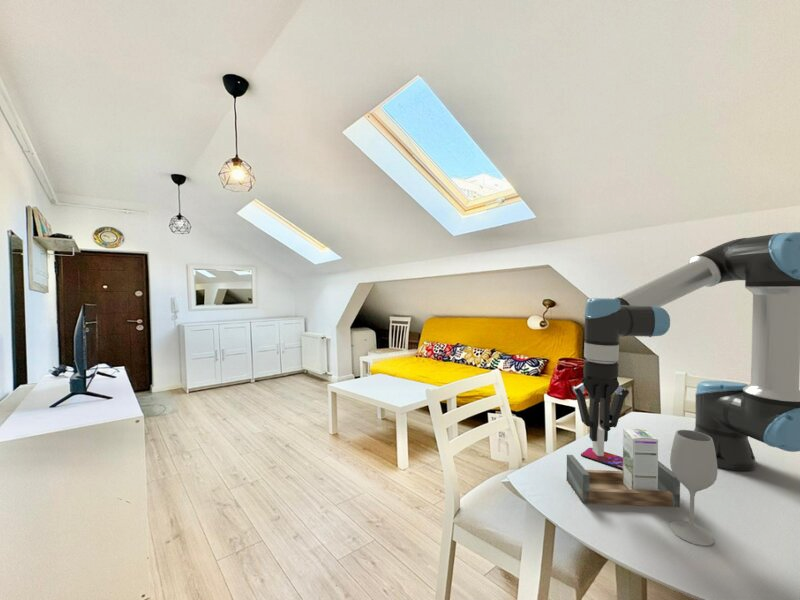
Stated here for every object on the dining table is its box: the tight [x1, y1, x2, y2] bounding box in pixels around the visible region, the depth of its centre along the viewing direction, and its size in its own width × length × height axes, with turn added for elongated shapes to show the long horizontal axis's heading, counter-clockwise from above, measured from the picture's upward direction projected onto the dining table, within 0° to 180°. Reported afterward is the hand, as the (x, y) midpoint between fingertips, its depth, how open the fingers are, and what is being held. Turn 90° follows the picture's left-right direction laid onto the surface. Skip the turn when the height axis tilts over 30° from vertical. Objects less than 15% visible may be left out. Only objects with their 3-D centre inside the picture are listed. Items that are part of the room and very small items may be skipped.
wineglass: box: [669, 429, 719, 547], centre depth 74 cm, size 8×8×21 cm
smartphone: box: [580, 447, 623, 471], centre depth 106 cm, size 8×1×15 cm
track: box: [566, 454, 681, 508], centre depth 90 cm, size 22×10×7 cm, turn 86°
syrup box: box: [622, 428, 659, 491], centre depth 88 cm, size 6×6×14 cm
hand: (598, 453), depth 90 cm, fingers closed
